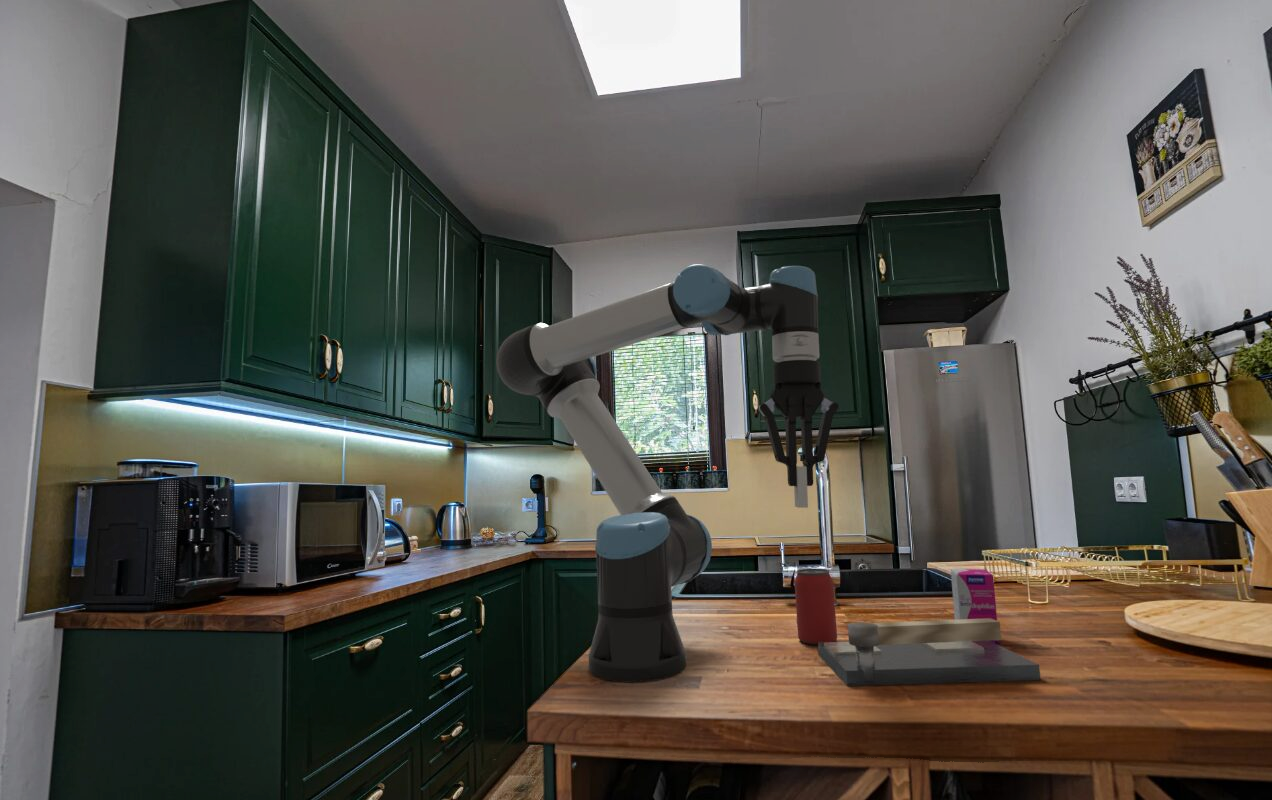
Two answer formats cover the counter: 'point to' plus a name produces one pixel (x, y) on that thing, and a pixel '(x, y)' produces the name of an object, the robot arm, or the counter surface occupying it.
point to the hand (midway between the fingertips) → (801, 506)
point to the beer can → (815, 606)
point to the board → (931, 663)
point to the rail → (923, 632)
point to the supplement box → (973, 595)
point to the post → (866, 663)
